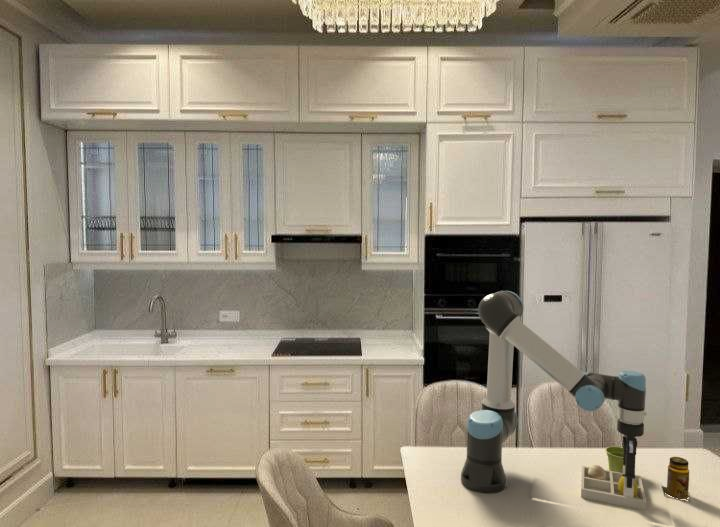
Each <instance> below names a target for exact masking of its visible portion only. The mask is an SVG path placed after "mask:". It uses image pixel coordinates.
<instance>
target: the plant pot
mask: <svg viewBox="0 0 720 527" xmlns="http://www.w3.org/2000/svg"><path fill="white" fill-rule="evenodd" d="M604 450H605V452H606V456H607V461H608V471H614V472H620V473H623V466H625V465H623V446H622V447H621V446H608V447H606V448H605V449H604Z"/></svg>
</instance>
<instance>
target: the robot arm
mask: <svg viewBox="0 0 720 527" xmlns="http://www.w3.org/2000/svg"><path fill="white" fill-rule="evenodd" d="M523 302H524V301H523V300H522V299H521V297H520V296H519V295H518V294H517V293H515V292H513V291H509V290H500V291H498V290H497V292H494V293H490V294H488V295H486V296H484V297H483V298H482V299H481V300H480V302H479V304H478V306H477V307H478V308H477V310H478V316H479V318H480V320H481V323H483V324H484V325H485V329H486V330H487V331H488V332H489V337H488V338H489V340H488V360H487V377H486V378H487V381H486V397H484V398H483V399H482V400H481V409H480V410H476V411H473V412H471V413H470V414H469V416H468V417H467V422H466V430H467V431H466V432H467V433H466V458H465V461H464V465H463V467H462V470H461V474H460V481H461V484H462V485H463V486H464V487H466V488H467V489H469V490H472V491H475V492H478V493H488V494H491V493H499V492H502V491H503V490H504V489H506V487H507V476H506V473H505V470H504V466H503V462H502V457H503V456H502V455H503V453H502V452H503V451H502V450H503V444H504V442H506V440H508V438H509V437H510V436H512V435H513V434H514V432H515V430H516V428H517V426H518V415H517V413H516V411H515V410H516V409H515V408H516V407H515V406H516V404H515V402H514V401H513V400H512V387H513V386H512V383H513V366H514V365H513V364H514V363H513V362H514V348H516V349H517V350H518V351H519V352H521V353H522V354H523V355H524V356H525V357H526V358H527V359H529V360H530V361H531V362H532V363H534V364H535V365H536V366H537V367H538V368H539V369H540V370H542V371H543V372H544V373H545V374H547V375H548V376H549V377H550V378H551V379H552V380H553V381H555V382H556V383H557V384H559V385H560V386H561V387H562V388H564V389H565V391H567V392H568V393H569V394H570V395H571V396H572V397H574V399H575V402H576V404H577V406H578V407H579V408H580V409H582V410H584V411H587V412H594V411H597V410H598V409H600V408H601V407H602V406H603V405H604V403H605V399H606V400H612V401H617V415H616V416H617V421H616V422H617V423H616V430H617V432H619V434H621V435H623V436H622V447H623V465H625V466H623V474H622V476H624V496H626V497H632V498H633V495H634V479H635V475H636V455H637V447H638V441H637V438H641V437H642V436H644V433H645V431H644V430H645V423H644V422H645V416H647V415H648V414H647V412H646V411H645V408H646V407H645V406H646V395H647V393H646V391H647V390H646V389H647V384H646V380H647V379H646V376H645V375H644V374H643V373H641V372H638V371H636V370H635V371H634V370H621V371H620V372H619V375H609V374H601V373H596V372H591V371H589V372H587V371H585V372H584V371H582V370H581V369H580V368H578V367H577V366H576V365H574V364H573V363H572V362H571V361H570V360H568V359H567V358H566V357H565V356H564V355H563V354H561V353H560V352H559V351H558V350H556V349H555V348H554V347H553V346H552V345H550V344H549V343H548V342H547V341H546V340H544V339H543V338H542V337H540V336H539V335H538V334H536V333H535V332H534V331H532V329H531V328H529V327H528V326H527V325H526V324H525V323H523V322H522V321H521V317H522V316H523V313H524V303H523Z"/></svg>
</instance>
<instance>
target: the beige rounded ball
mask: <svg viewBox="0 0 720 527" xmlns="http://www.w3.org/2000/svg"><path fill="white" fill-rule="evenodd" d="M589 467H590V468H589V470H588V475H589V477H590V478H593V479H599V480H605V478H606V472H605V470H606V469H605V468H604V467H602V466H601V465H597V464H594V465H592V466H589Z"/></svg>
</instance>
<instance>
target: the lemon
mask: <svg viewBox="0 0 720 527" xmlns="http://www.w3.org/2000/svg"><path fill="white" fill-rule="evenodd" d="M618 489H619V492H620V494H621V495H622V496H624V476H622V477H621V478H620V480H619V483H618ZM637 491H638V487H637V483H636V481H635V479H634V495H633V498H634V497H635V496H636V495H637Z"/></svg>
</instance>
